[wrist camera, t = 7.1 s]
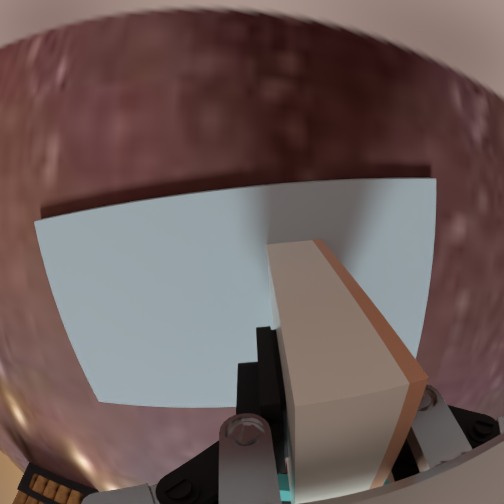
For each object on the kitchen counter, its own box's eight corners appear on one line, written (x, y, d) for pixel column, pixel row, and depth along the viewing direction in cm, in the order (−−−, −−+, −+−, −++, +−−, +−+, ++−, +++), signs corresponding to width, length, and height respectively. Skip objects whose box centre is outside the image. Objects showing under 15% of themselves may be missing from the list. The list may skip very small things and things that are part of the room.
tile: (321, 239, 13) (428, 377, 4) (321, 366, 15) (364, 516, 6) (266, 244, 13) (294, 405, 4) (276, 372, 15) (294, 529, 6)
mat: (429, 177, 12) (436, 178, 12) (406, 373, 16) (410, 379, 16) (40, 219, 13) (34, 221, 12) (101, 395, 16) (98, 401, 16)
